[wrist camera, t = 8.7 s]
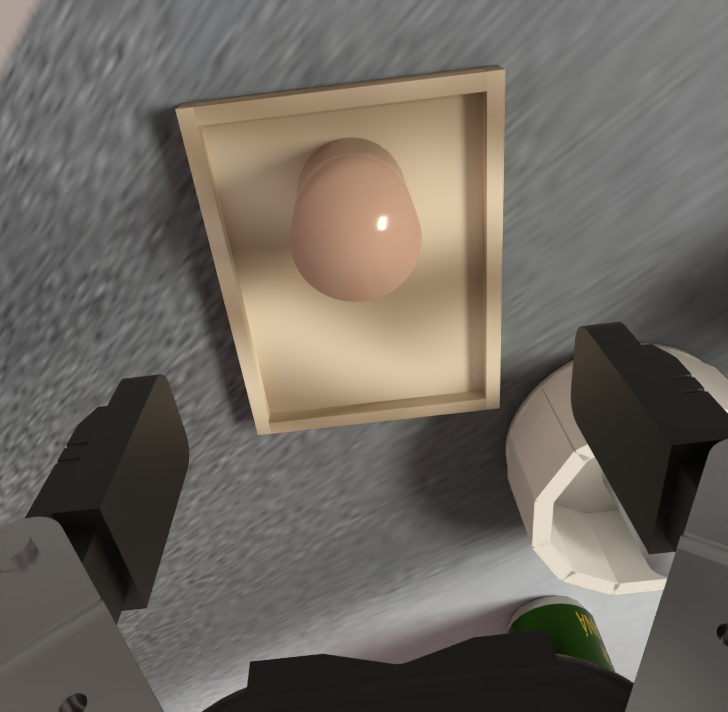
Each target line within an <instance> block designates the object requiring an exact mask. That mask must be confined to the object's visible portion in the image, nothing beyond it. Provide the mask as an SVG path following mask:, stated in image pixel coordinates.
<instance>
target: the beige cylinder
mask: <svg viewBox="0 0 728 712" xmlns="http://www.w3.org/2000/svg"><path fill="white" fill-rule="evenodd" d="M421 245H422V233H421V226H420V222H419V219H418V216H417V213H416V210H415V207H414V205H413V202H412V199H411V196H410V193H409V191H408V188H407V185H406V182H405V179H404V176H403V174H402V171H401V169H400V166H399V165H398V163H397V161H396V160H395V159H394V157H393V156H392V155H391V154H390V153H389V152H388V151H387V150H386V149H384V148H383V147H382V146H380V145H378V144H376V143H374V142H372V141H369V140H366V139H362V138H353V137H352V138H342V139H337V140H334V141H331V142H329V143H327V144H325V145H323V146H322V147H321V148H319V149H318V150H317V151H316V152H314V153H313V154H312V156H311V157H310V158H309V159H308V161H307V162H306V164H305V165H304V167H303V170H302V172H301V175H300V178H299V184H298V190H297V196H296V201H295V207H294V213H293V219H292V225H291V231H290V249H291V254H292V257H293V260H294V263H295V265H296V267H297V269H298V271H299V272H300V274H301V275H302V277H303V278H304V279H305V280H306V281H307V282H308V283H309V284H310V285H311V286H312V287H313V288H315V289H316V290H317V291H319V292H321V293H322V294H324V295H326V296H329V297H331V298H334V299H337V300H342V301H348V302H362V301H369V300H373V299H376V298H380V297H382V296H384V295H386V294H388V293H390V292H392V291H393V290H395V289H396V288H397V287H399V286H400V285H401V284H402V283H403V282H404V281H405V280H406V279H407V278H408V276H409V275H410V274H411V272H412V271H413V269H414V267H415V265H416V263H417V261H418V258H419V255H420V251H421Z"/></svg>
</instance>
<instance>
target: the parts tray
mask: <svg viewBox="0 0 728 712" xmlns="http://www.w3.org/2000/svg"><path fill="white" fill-rule="evenodd" d="M175 110H176V114H177V118H178V122H179V126H180V130H181V134H182V138H183V142H184V146H185V150H186V153H187V157H188V161H189V165H190V169H191V173H192V177H193V181H194V185H195V189H196V193H197V197H198V201H199V205H200V209H201V213H202V216H203V220H204V224H205V228H206V232H207V236H208V240H209V244H210V248H211V252H212V256H213V260H214V264H215V268H216V272H217V275H218V279H219V283H220V287H221V291H222V295H223V299H224V303H225V307H226V311H227V315H228V319H229V323H230V327H231V331H232V334H233V338H234V342H235V346H236V350H237V354H238V358H239V362H240V366H241V370H242V374H243V378H244V382H245V386H246V390H247V393H248V397H249V401H250V405H251V409H252V413H253V417H254V421H255V425H256V429H257V433H258V435H264V434H273V433H282V432H291V431H300V430H308V429H317V428H326V427H335V426H344V425H353V424H362V423H371V422H380V421H389V420H398V419H407V418H416V417H425V416H434V415H443V414H452V413H461V412H470V411H479V410H488V409H497V408H500V357H501V298H502V238H503V179H504V119H505V69H503V68H502V67H500V66H498V65H493V66H485V67H477V68H469V69H460V70H452V71H444V72H436V73H427V74H419V75H411V76H402V77H394V78H386V79H378V80H369V81H361V82H353V83H345V84H336V85H328V86H320V87H312V88H303V89H295V90H287V91H279V92H270V93H262V94H254V95H246V96H237V97H229V98H221V99H212V100H204V101H196V102H188V103H182V104H181V105H180V106H179V107H178V108H176V109H175ZM352 137H353V138H362V139H366V140H369V141H372V142H374V143H376V144H378V145H380V146H382V147H383V148H384V149H386V150H387V151H388V152H389V153H390V154H391V155H392V156H393V157H394V159H395V160H396V161H397V163H398V165H399V166H400V169H401V171H402V174H403V176H404V179H405V182H406V185H407V188H408V191H409V193H410V196H411V199H412V202H413V205H414V207H415V210H416V213H417V216H418V219H419V222H420V226H421V233H422V245H421V251H420V255H419V258H418V261H417V263H416V265H415V267H414V269H413V271H412V272H411V274H410V275H409V276H408V278H407V279H406V280H405V281H404V282H403V283H402V284H401V285H400V286H399V287H397V288H396V289H395V290H393V291H392V292H390V293H388V294H386V295H384V296H382V297H380V298H376V299H373V300H369V301H362V302H348V301H342V300H337V299H334V298H331V297H329V296H326V295H324V294H322V293H321V292H319V291H317V290H316V289H315V288H313V287H312V286H311V285H310V284H309V283H308V282H307V281H306V280H305V279H304V278H303V277H302V275H301V274H300V272H299V271H298V269H297V267H296V265H295V263H294V260H293V257H292V254H291V249H290V231H291V225H292V219H293V213H294V207H295V201H296V196H297V190H298V184H299V178H300V175H301V172H302V170H303V167H304V165H305V164H306V162H307V161H308V159H309V158H310V157H311V156H312V154H313V153H314V152H316V151H317V150H318V149H319V148H321V147H322V146H323V145H325V144H327V143H329V142H331V141H334V140H337V139H342V138H352Z"/></svg>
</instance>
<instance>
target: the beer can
mask: <svg viewBox="0 0 728 712" xmlns="http://www.w3.org/2000/svg"><path fill="white" fill-rule="evenodd" d="M547 629H548V632H549V634H550V637H551V640H552V643H553V646H554V649H555V652H556V654H562V655H568V656H572V657H575V658H579V659H583V660H587V661H589V662H592V663H595V664H597V665H600V666H602V667H605V668H607V669H609V670H611V671H613V672H615V670H614V668H613V665H612V663H611V660H610V658H609V655H608V653H607V651H606V648H605V646H604V643H603V641H602V638H601V636H600V633H599V631H598V629H597V626H596V624H595V621H594V619H593V616H592V615H591V614H590V613H589V612H588V611H587V610H586V609H585V608H584V607H583V606H582V605H581V604H580V603H579V602H578V601H576V600H574V599H571V598H569V597H563V596H548V597H542V598H538V599H535V600H532V601H530V602H528V603H526V604H524V605H522V606H521V607H520V608H519V609H518V610H517V611H515V612H514V614H513V615H512V617H511V619H510V622H509V628H508V634H510V633H520V632H529V631H538V630H547Z"/></svg>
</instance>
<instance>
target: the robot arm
mask: <svg viewBox="0 0 728 712" xmlns="http://www.w3.org/2000/svg"><path fill="white" fill-rule="evenodd" d="M571 407H572V412H573V416H574V419H575V422H576V424H577V426H578V428H579V429H580V431H581V433H582V435H583V437H584V438H585V440H586V442H587V444H588V446H589V447H590V449H591V451H592V453H593V455H594V456H595V458H596V460H597V462H598V464H599V465H600V467H601V469H602V471H603V473H604V474H605V476H606V478H607V480H608V482H609V483H610V485H611V487H612V489H613V491H614V492H615V494H616V496H617V498H618V500H619V501H620V503H621V505H622V507H623V509H624V510H625V512H626V514H627V516H628V518H629V519H630V521H631V523H632V525H633V527H634V528H635V530H636V532H637V534H638V536H639V537H640V539H641V541H642V543H643V545H644V546H645V548H646V550H647V552H648V554H649V555H651V554H660V553H669V552H675V555H674V559H673V562H672V565H671V568H670V571H669V574H668V578H667V581H666V584H665V587H664V590H663V593H662V597H661V600H660V603H659V606H658V609H657V612H656V616H655V619H654V622H653V625H652V628H651V631H650V634H649V638H648V641H647V644H646V647H645V650H644V653H643V657H642V660H641V663H640V666H639V669H638V672H637V676H636V679H635V682H634V683H633V682H631V681H630V680H628V679H626V678H625V677H623V676H621V675H619V674H617V673H615V672H613V671H611V670H609V669H607V668H605V667H602V666H600V665H597V664H595V663H592V662H589V661H587V660H583V659H579V658H575V657H572V656H568V655H562V654H556V652H555V649H554V646H553V643H552V640H551V637H550V634H549V632H548V629H547V630H538V631H529V632H520V633H510V634H501V635H492V636H483V637H474V638H471V639H469V640H466V641H463V642H461V643H458V644H455V645H453V646H450V647H447V648H445V649H442V650H439V651H437V652H434V653H431V654H429V655H426V656H423V657H421V658H418V659H415V660H413V661H410V662H407V663H404V664H389V663H382V662H375V661H368V660H362V659H355V658H348V657H341V656H334V655H327V654H317V655H308V656H298V657H289V658H280V659H271V660H262V661H252V662H250V667H249V676H248V684H247V687H246V688H244V689H241V690H238V691H236V692H234V693H232V694H230V695H228V696H226V697H224V698H222V699H220V700H219V701H217V702H216V703H214V704H213V705H211V706H210V707H208V708H207V709H205V710H203V711H202V712H728V413H727V412H726V411H725V410H724V409H723V407H722V406H721V405H720V404H719V403H718V402H717V401H716V400H715V399H714V398H713V397H712V395H711V394H710V393H709V392H708V391H705V390H704V387H703V386H702V385H701V384H700V382H699V381H698V380H697V379H696V378H695V377H692V374H691V373H690V372H689V370H688V369H687V368H686V367H685V366H684V365H683V364H682V363H681V362H680V361H679V360H678V359H677V357H675V356H673V355H671V354H670V353H668V352H666V351H664V350H662V349H660V348H658V347H657V346H655V345H653V344H647V345H641V344H640V343H639V342H638V340H637V339H636V338H635V337H634V336H633V334H632V333H631V332H630V331H629V330H628V329H627V327H626V326H625V325H624V324H623V323H621V322H614V323H605V324H597V325H588V326H581V327H579V328H578V330H577V332H576V337H575V348H574V359H573V370H572V382H571ZM188 464H189V445H188V439H187V436H186V432H185V429H184V426H183V423H182V420H181V417H180V414H179V412H178V409H177V406H176V403H175V400H174V397H173V394H172V391H171V388H170V385H169V382H168V380H167V379H166V377H165V376H164V375H162V374H160V375H151V376H143V377H134V378H126V379H122V380H121V382H120V383H119V385H118V387H117V389H116V391H115V393H114V394H113V396H112V398H111V400H110V402H109V404H108V406H103V407H98V408H96V409H95V410H94V411H93V412H92V413H91V414H90V415H89V416H87V417H86V418H85V419H84V420H83V421H82V422H81V423H80V424H79V425H78V426H77V427H76V429H75V431H74V433H73V434H72V436H71V438H70V440H69V441H68V443H67V448H64V450H63V452H62V454H61V455H60V457H59V459H58V464H56V465H55V466H54V468H53V470H52V471H51V473H50V475H49V477H48V478H47V480H46V482H45V484H44V485H43V487H42V489H41V491H40V492H39V494H38V496H37V498H36V499H35V501H34V503H33V505H32V506H31V508H30V510H29V512H28V513H27V515H26V517H25V519H22V520H18V521H16V522H13V523H10V524H8V525H6V526H4V527H2V528H0V712H164V711H163V709H162V707H161V705H160V703H159V701H158V700H157V698H156V696H155V694H154V692H153V691H152V689H151V687H150V685H149V683H148V682H147V680H146V678H145V676H144V674H143V672H142V671H141V669H140V667H139V665H138V663H137V662H136V660H135V658H134V656H133V654H132V652H131V651H130V649H129V647H128V645H127V643H126V642H125V640H124V638H123V636H122V634H121V632H120V631H119V629H118V627H117V623H118V620H119V617H120V614H121V611H125V610H134V609H143V608H147V605H148V602H149V598H150V595H151V592H152V588H153V585H154V581H155V578H156V575H157V571H158V568H159V564H160V561H161V558H162V554H163V551H164V547H165V544H166V540H167V537H168V534H169V530H170V527H171V523H172V520H173V517H174V513H175V510H176V506H177V503H178V500H179V496H180V493H181V489H182V486H183V483H184V479H185V476H186V472H187V469H188Z"/></svg>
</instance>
